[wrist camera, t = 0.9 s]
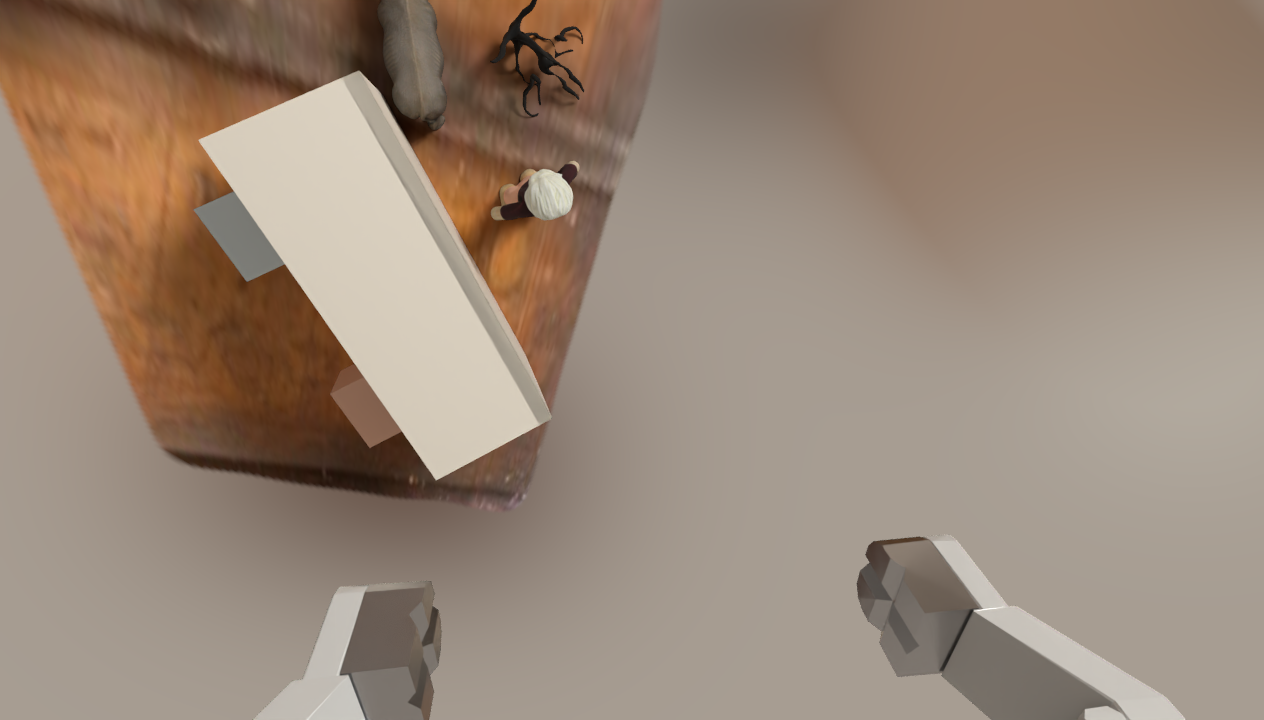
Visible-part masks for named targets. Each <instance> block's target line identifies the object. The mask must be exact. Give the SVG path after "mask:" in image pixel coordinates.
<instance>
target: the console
mask: <svg viewBox="0 0 1264 720" xmlns="http://www.w3.org/2000/svg"><path fill="white" fill-rule="evenodd" d="M199 142H200V143H201V145H202V146H203V148H204V149H205V150H206V152H207V153H208V155H209V156H210V158H211V159H212V160H213V162H214V163H215V165H216V166H217V168H218V169H219V170H220V172H221V173H222V175H223V176H224V178H225V179H226V180H227V182H228V183H229V185H230V186H231V188H232V189H233V190H234V192H235V193H236V195H237V196H238V198H239V199H240V200H241V202H242V203H243V205H244V206H245V208H246V209H247V210H248V212H249V213H250V215H251V216H252V218H253V219H254V220H255V222H256V223H257V225H258V226H259V228H260V229H261V230H262V232H263V233H264V235H265V236H266V238H267V239H268V240H269V242H270V243H271V245H272V246H273V248H274V249H275V250H276V252H277V253H278V255H279V256H280V258H281V259H282V260H283V262H284V263H285V265H286V266H287V268H288V269H289V270H290V272H291V273H292V275H293V276H294V278H295V279H296V280H297V282H298V283H299V285H300V286H301V288H302V289H303V291H304V292H305V293H306V295H307V296H308V298H309V299H310V301H311V302H312V303H313V305H314V306H315V308H316V309H317V311H318V312H319V313H320V315H321V316H322V318H323V319H324V321H325V322H326V323H327V325H328V326H329V328H330V329H331V331H332V332H333V333H334V335H335V336H336V338H337V339H338V341H339V342H340V343H341V345H342V346H343V348H344V349H345V351H346V352H347V353H348V355H349V356H350V358H351V359H352V361H353V362H354V363H355V365H356V366H357V368H358V369H359V371H360V372H361V373H362V375H363V376H364V378H365V379H366V381H367V382H368V383H369V385H370V386H371V388H372V389H373V391H374V392H375V393H376V395H377V396H378V398H379V399H380V401H381V402H382V403H383V405H384V406H385V408H386V409H387V411H388V412H389V413H390V415H391V416H392V418H393V419H394V421H395V422H396V423H397V425H398V426H399V428H400V429H401V431H402V432H403V433H404V435H405V436H406V438H407V439H408V441H409V442H410V443H411V445H412V446H413V448H414V449H415V451H416V452H417V453H418V455H419V456H420V458H421V459H422V461H423V462H424V463H425V465H426V466H427V468H428V469H429V471H430V472H431V473H432V475H433V476H434V478H435V479H436V480H438V479H440V478H441V477H443V476H445V475H447V474H449V473H451V472H453V471H455V470H456V469H458V468H460V467H462V466H464V465H466V464H468V463H470V462H471V461H473V460H475V459H477V458H479V457H481V456H483V455H485V454H486V453H488V452H490V451H492V450H494V449H496V448H498V447H499V446H501V445H503V444H505V443H507V442H509V441H511V440H513V439H514V438H516V437H518V436H520V435H522V434H524V433H526V432H528V431H529V430H531V429H533V428H535V427H537V426H539V425H541V424H543V423H544V422H546V421H548V420H550V419H552V416H551V414H550V412H549V409H548V407H547V405H546V402H545V400H544V397H543V395H542V393H541V390H540V388H539V386H538V383H537V381H536V379H535V376H534V374H533V372H532V369H531V367H530V365H529V362H528V360H527V357H526V355H525V353H524V351H523V349H522V347H521V346H520V344H519V342H518V340H517V338H516V337H515V335H514V333H513V331H512V329H511V327H510V326H509V324H508V322H507V320H506V318H505V316H504V315H503V313H502V311H501V309H500V307H499V306H498V304H497V302H496V300H495V298H494V296H493V295H492V293H491V291H490V289H489V287H488V286H487V284H486V282H485V280H484V278H483V276H482V275H481V273H480V271H479V269H478V267H477V265H476V264H475V262H474V260H473V258H472V256H471V255H470V253H469V251H468V249H467V247H466V245H465V244H464V242H463V240H462V238H461V236H460V234H459V233H458V231H457V229H456V227H455V225H454V224H453V222H452V220H451V218H450V216H449V214H448V213H447V211H446V209H445V207H444V205H443V204H442V202H441V200H440V198H439V196H438V194H437V193H436V191H435V189H434V187H433V185H432V183H431V182H430V180H429V178H428V176H427V174H426V173H425V171H424V169H423V167H422V165H421V163H420V162H419V160H418V158H417V156H416V154H415V152H414V151H413V149H412V147H411V145H410V143H409V142H408V140H407V138H406V136H405V134H404V132H403V131H402V129H401V127H400V125H399V123H398V122H397V120H396V118H395V116H394V114H393V112H392V111H391V109H390V107H389V105H388V103H387V101H386V100H385V98H384V96H383V95H382V94H381V93H380V92H379V91H378V90H377V89H376V87H375V86H374V85H373V84H372V83H371V82H370V81H369V80H368V79H367V78H366V77H365V76H364V75H363V74H362V73H361V72H360V71H357V72H354V73H352V74H350V75H347V76H345V77H343V78H340V79H338V80H336V81H334V82H331V83H329V84H327V85H324V86H322V87H320V88H317V89H315V90H313V91H310V92H308V93H306V94H304V95H301V96H299V97H297V98H294V99H292V100H290V101H287V102H285V103H283V104H280V105H278V106H276V107H273V108H271V109H269V110H267V111H264V112H262V113H260V114H257V115H255V116H253V117H250V118H248V119H246V120H243V121H241V122H239V123H237V124H234V125H232V126H230V127H227V128H225V129H223V130H220V131H218V132H216V133H213V134H211V135H209V136H207V137H204V138H202V139H200V140H199Z"/></svg>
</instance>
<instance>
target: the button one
mask: <svg viewBox="0 0 1264 720" xmlns="http://www.w3.org/2000/svg"><path fill="white" fill-rule="evenodd" d="M194 211H195V212H196V214H197V215H198V217H199V218H200V219H201V221H202V222H203V223H204V225H205V226H206V227H207V229H208V230H209V231H210V233H211V234H212V235H213V237H214V238H215V239H216V241H217V242H218V244H219V245H220V246H221V248H222V249H223V250H224V252H225V253H226V254H227V256H228V257H229V258H230V260H231V261H232V262H233V264H234V265H235V267H236V268H237V269H238V271H239V272H240V273H241V275H242V276H243V277H244V279H245V280H246V281H247V282H248V281H250V280H252V279H254V278H257V277H259V276H261V275H263V274H265V273H267V272H269V271H271V270H274V269H276V268H278V267H280V266H282V265H284V264H285V263H284V262H283V260H282V259H281V258H280V256H279V255H278V253H277V252H276V250H275V249H274V248H273V246H272V245H271V243H270V242H269V240H268V239H267V238H266V236H265V235H264V233H263V232H262V230H261V229H260V228H259V226H258V225H257V223H256V222H255V220H254V219H253V218H252V216H251V215H250V213H249V212H248V210H247V209H246V208H245V206H244V205H243V203H242V202H241V200H240V199H239V198H238V196H237V195H236V193H235V192H232V193H229V194H227V195H225V196H223V197H220V198H218V199H216V200H214V201H212V202H209V203H207V204H205V205H203V206H200V207H198V208H196V209H194Z"/></svg>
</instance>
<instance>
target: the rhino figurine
mask: <svg viewBox="0 0 1264 720" xmlns="http://www.w3.org/2000/svg"><path fill="white" fill-rule="evenodd" d="M377 15H378V19H379V22H380V24H381V25H382V27H383V29H384V41H383V58H384V63H385V66H386V69H387V71H388V73H389V75H390V77H391V79H392V81H393V83H394V87H393V88H392V97H393V101H394V103H395V105H396V107H397V108H398V109H399V111H400V112H401V113H402V114H403V115H405V116H407V117H409V118H412V119H417V118H419V117H420V119H421V120H422V121H427V122H428V126H429V127H430V128H431V129H432V130H437V129H439V128H440V127H441V126H442V125H443V124H444V121H445V117H444V116H443V115H442V114H443V112H444V111H445V109H446V104H447V96H446V92H445V89H444V86H443V83H442V81H441V77H442V72H443V67H444V57H443V53H442V49H441V46H440V44H439V41H438V37H437V34H436V29H437V19H436V15H435V11H434V9H433V7H432V6H431V5H430V3H429V2H428V0H381V2H380V4H379V6H378V10H377Z"/></svg>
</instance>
